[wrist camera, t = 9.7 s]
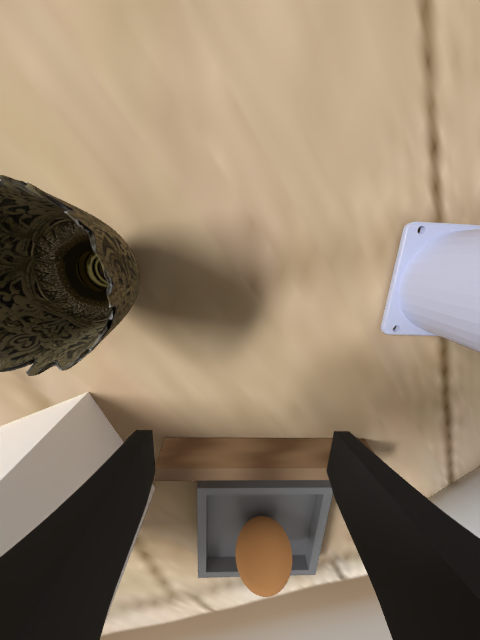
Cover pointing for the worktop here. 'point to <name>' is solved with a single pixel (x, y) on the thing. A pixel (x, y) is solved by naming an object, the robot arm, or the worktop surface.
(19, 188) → the cup
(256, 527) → the egg
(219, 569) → the tray
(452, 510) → the tube
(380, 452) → the worktop surface
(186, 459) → the fence
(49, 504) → the milk
